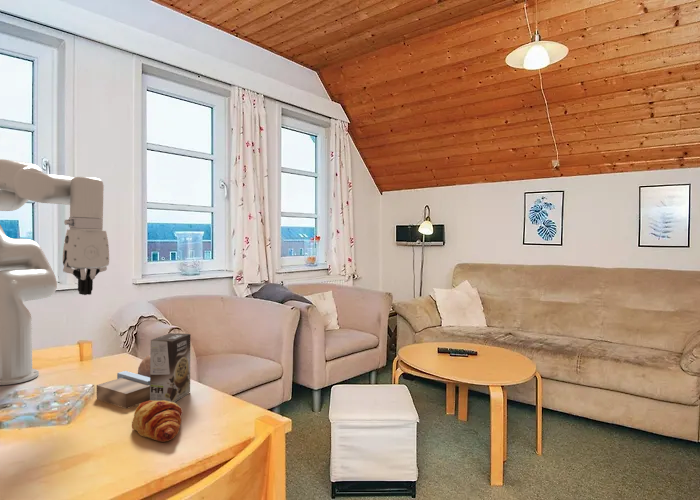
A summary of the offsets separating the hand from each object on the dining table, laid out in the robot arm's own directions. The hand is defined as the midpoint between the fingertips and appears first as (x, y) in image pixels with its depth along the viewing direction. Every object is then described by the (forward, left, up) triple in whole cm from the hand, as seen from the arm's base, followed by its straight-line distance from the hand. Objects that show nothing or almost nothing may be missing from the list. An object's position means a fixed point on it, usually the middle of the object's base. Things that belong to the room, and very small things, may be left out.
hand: (85, 294), depth 122 cm
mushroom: (+8, +14, -27) cm, 31 cm away
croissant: (+35, -4, -27) cm, 44 cm away
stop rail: (+10, +8, -27) cm, 29 cm away
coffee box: (+21, +10, -27) cm, 36 cm away
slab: (+12, +3, -27) cm, 30 cm away
